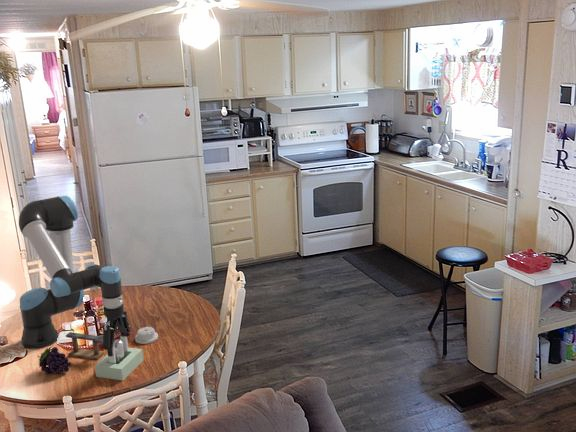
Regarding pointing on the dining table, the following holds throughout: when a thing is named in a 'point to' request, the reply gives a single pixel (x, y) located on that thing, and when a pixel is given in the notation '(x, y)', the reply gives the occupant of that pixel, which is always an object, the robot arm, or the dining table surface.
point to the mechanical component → (146, 335)
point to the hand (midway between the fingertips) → (118, 356)
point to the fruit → (53, 361)
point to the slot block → (119, 365)
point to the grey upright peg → (118, 350)
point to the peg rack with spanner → (84, 352)
